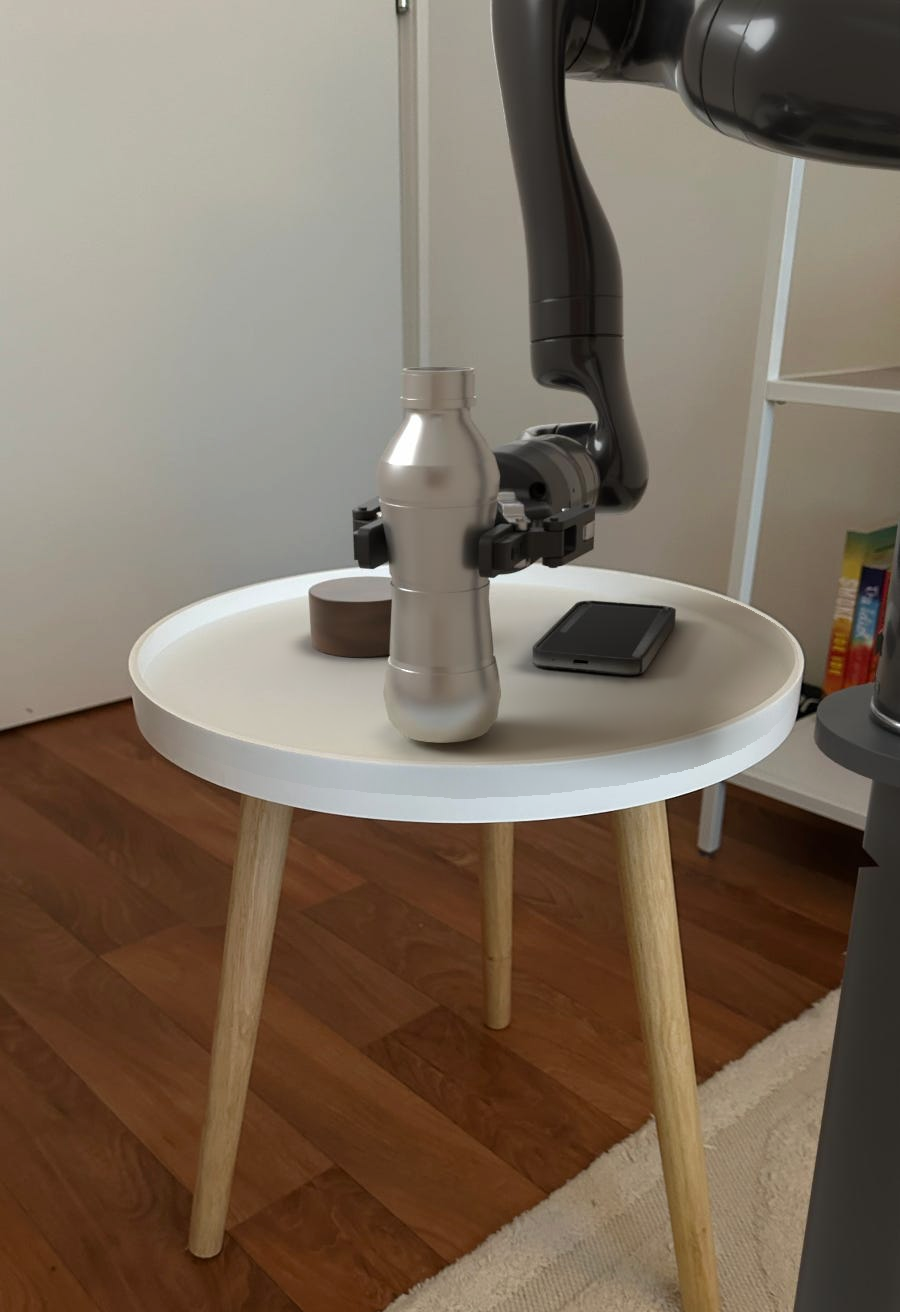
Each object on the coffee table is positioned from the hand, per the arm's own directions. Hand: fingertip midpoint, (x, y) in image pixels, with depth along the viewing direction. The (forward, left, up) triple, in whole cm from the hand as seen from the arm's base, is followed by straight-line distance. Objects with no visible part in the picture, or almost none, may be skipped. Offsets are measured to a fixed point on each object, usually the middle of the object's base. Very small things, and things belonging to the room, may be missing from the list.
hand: (424, 553), depth 61 cm
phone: (0, -25, -11) cm, 27 cm away
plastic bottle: (0, -2, -11) cm, 11 cm away
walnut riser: (+15, -17, -11) cm, 25 cm away
